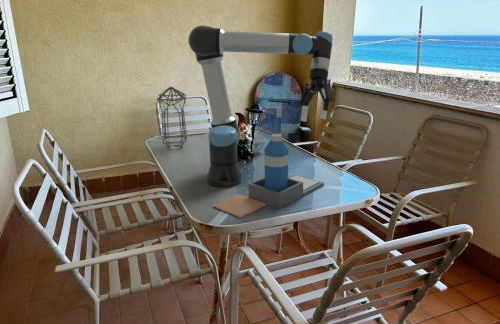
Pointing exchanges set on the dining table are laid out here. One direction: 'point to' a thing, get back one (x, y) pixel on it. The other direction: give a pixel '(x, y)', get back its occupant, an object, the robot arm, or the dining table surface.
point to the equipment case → (295, 190)
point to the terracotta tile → (240, 205)
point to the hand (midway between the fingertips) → (312, 120)
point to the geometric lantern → (176, 112)
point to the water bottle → (276, 164)
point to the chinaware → (258, 143)
